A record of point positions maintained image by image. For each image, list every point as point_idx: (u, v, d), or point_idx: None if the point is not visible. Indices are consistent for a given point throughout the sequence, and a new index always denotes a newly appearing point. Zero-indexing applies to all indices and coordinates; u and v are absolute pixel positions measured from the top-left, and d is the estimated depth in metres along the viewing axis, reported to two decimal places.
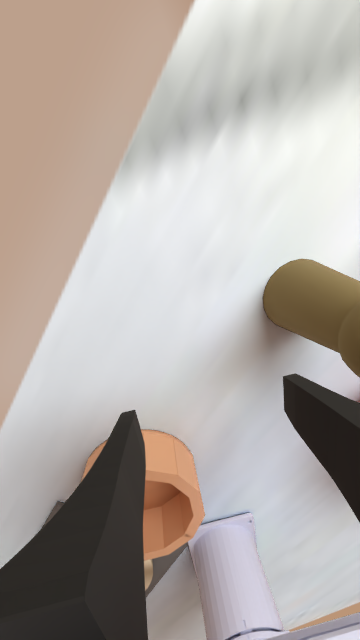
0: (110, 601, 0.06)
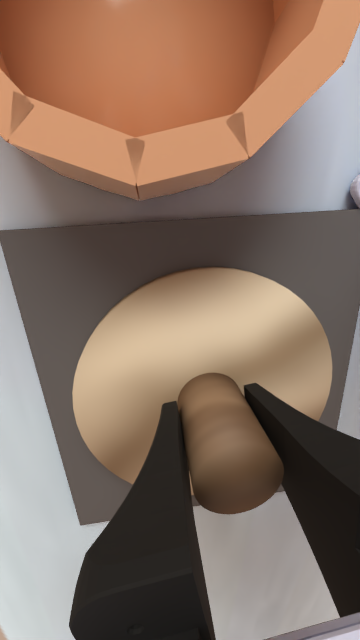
0: (198, 578, 0.06)
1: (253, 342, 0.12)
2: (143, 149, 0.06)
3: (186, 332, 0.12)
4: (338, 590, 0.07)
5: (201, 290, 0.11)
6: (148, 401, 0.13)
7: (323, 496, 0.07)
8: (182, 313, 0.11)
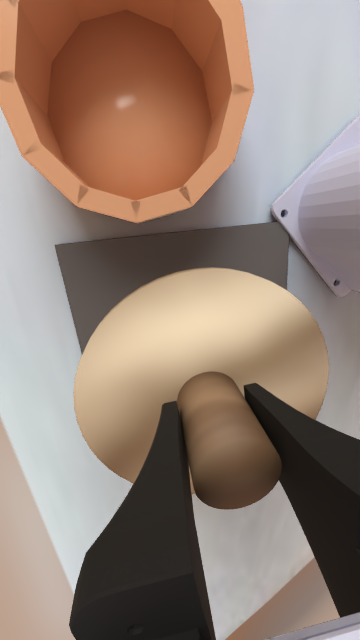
0: (198, 577, 0.06)
1: (251, 341, 0.12)
2: (139, 205, 0.13)
3: (185, 331, 0.12)
4: (338, 590, 0.07)
5: (200, 290, 0.11)
6: (148, 400, 0.13)
7: (323, 496, 0.07)
8: (181, 313, 0.12)
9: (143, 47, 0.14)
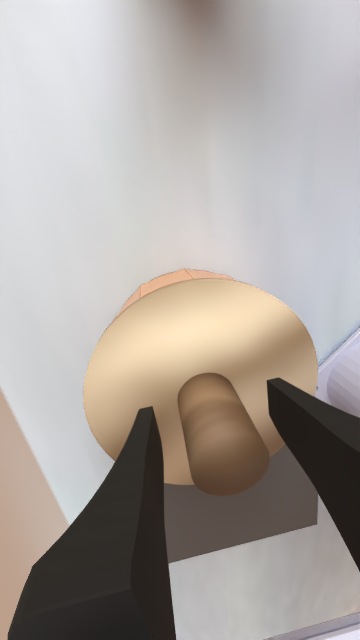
0: (147, 591, 0.06)
1: (245, 345, 0.14)
2: None
3: (184, 336, 0.13)
4: None
5: (197, 299, 0.12)
6: (151, 398, 0.14)
7: None
8: (181, 320, 0.13)
9: None
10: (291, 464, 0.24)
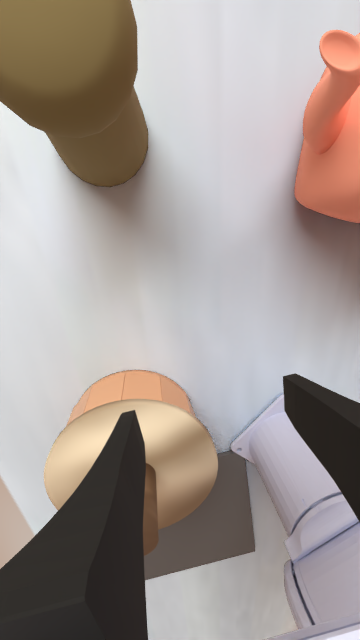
0: (110, 601, 0.06)
1: (160, 443, 0.19)
2: None
3: None
4: None
5: None
6: None
7: None
8: (110, 430, 0.18)
9: None
10: (227, 505, 0.29)
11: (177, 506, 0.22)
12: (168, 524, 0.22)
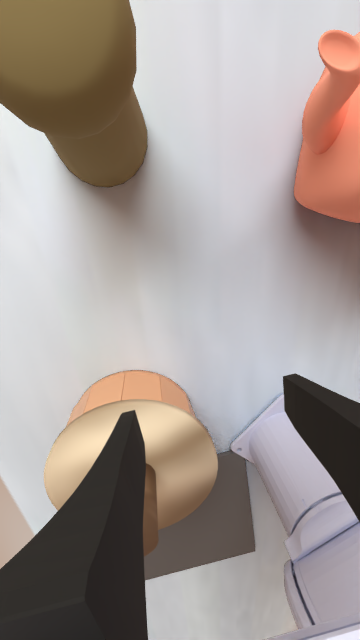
0: (110, 601, 0.06)
1: (159, 443, 0.19)
2: None
3: None
4: None
5: None
6: None
7: None
8: (110, 430, 0.18)
9: None
10: (227, 505, 0.29)
11: (177, 506, 0.22)
12: (168, 524, 0.22)
